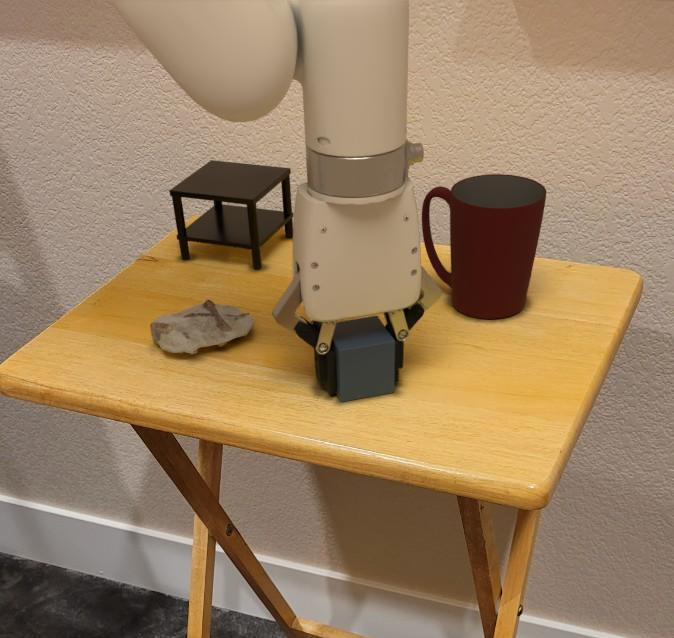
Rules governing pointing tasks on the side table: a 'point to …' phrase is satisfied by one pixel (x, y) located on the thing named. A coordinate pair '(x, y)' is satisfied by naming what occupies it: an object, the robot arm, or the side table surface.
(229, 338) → the stone
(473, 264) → the mug
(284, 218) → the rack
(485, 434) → the side table surface
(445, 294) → the side table surface
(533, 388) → the side table surface
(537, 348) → the side table surface
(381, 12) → the robot arm
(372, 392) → the block
